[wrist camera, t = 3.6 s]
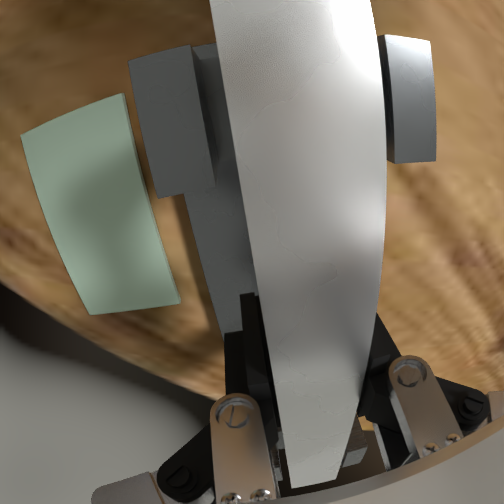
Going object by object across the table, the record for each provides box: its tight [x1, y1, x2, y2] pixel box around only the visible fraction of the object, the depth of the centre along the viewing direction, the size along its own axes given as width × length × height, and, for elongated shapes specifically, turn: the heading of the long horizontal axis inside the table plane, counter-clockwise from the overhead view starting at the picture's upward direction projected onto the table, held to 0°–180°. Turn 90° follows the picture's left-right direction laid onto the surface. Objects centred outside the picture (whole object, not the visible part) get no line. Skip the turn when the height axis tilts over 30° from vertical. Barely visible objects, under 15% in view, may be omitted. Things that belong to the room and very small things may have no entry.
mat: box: [21, 93, 181, 315], centre depth 18 cm, size 15×8×1 cm, turn 8°
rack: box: [128, 35, 436, 481], centre depth 14 cm, size 22×9×13 cm, turn 8°
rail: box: [209, 0, 387, 488], centre depth 9 cm, size 19×2×2 cm, turn 8°
